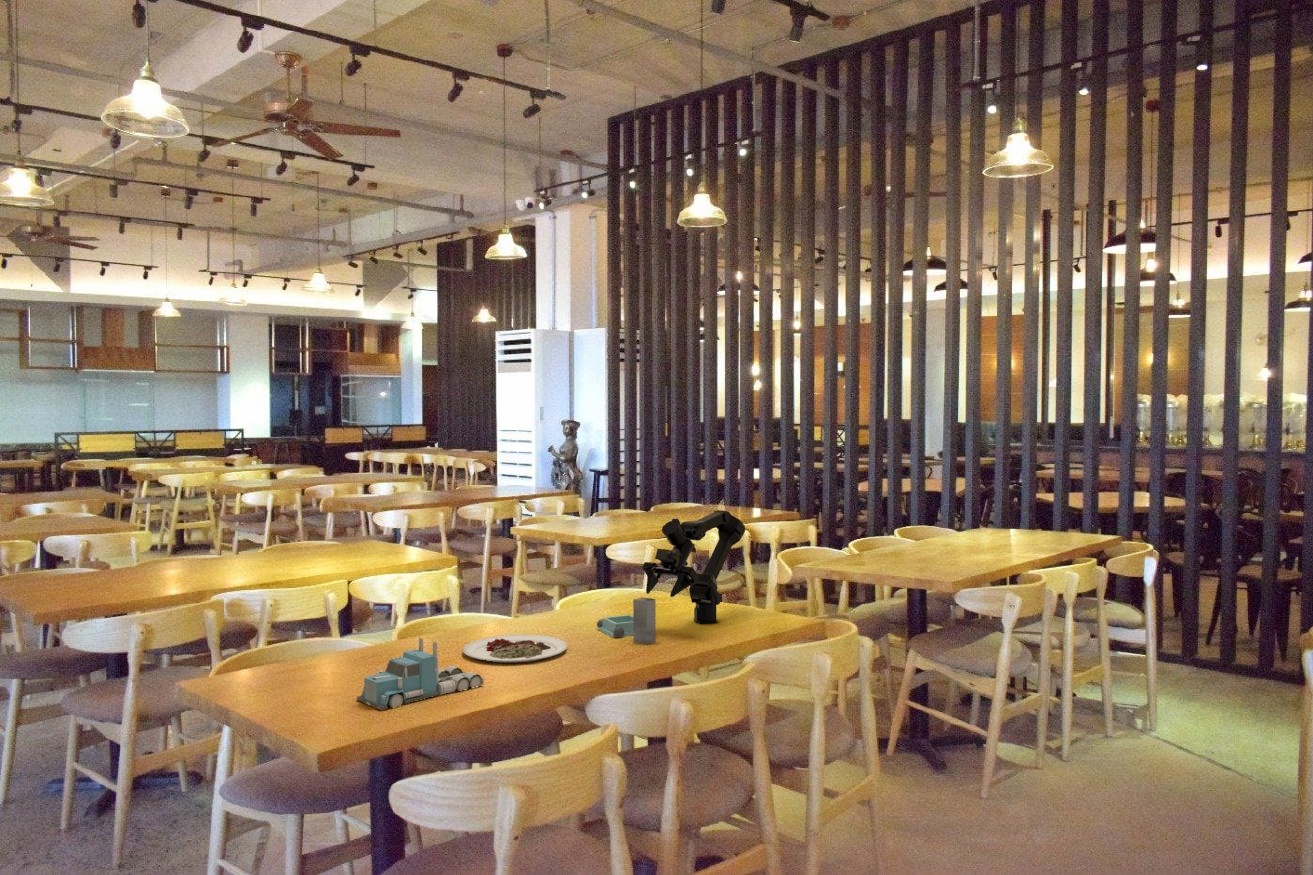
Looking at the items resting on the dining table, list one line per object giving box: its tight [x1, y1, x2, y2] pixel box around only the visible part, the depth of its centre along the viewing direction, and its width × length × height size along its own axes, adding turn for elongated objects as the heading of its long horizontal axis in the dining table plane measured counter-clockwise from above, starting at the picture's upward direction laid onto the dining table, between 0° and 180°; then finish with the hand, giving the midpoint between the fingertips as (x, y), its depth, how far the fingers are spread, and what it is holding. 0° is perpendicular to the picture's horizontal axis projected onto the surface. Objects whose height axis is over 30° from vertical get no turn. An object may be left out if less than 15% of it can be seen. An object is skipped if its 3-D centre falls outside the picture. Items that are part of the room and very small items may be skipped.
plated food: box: [462, 634, 568, 664], centre depth 279 cm, size 30×30×3 cm
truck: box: [356, 637, 485, 711], centre depth 238 cm, size 12×29×15 cm, turn 135°
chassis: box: [596, 614, 633, 639], centre depth 303 cm, size 12×14×4 cm
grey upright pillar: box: [632, 596, 657, 646], centre depth 290 cm, size 4×5×13 cm
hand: (658, 594), depth 295 cm, fingers open, 9 cm apart
